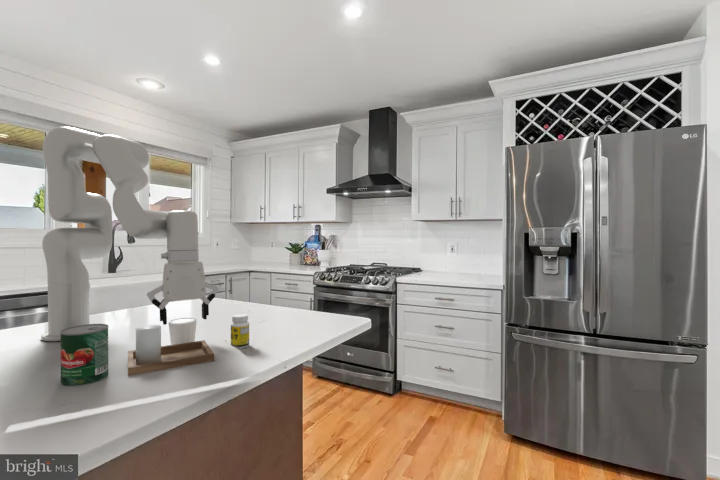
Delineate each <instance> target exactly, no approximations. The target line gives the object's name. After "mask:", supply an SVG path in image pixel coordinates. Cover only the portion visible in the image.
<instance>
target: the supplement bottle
mask: <svg viewBox="0 0 720 480" xmlns="http://www.w3.org/2000/svg"><path fill="white" fill-rule="evenodd" d="M231 318H232V319H231V321H232V322H231V323H230V345H231V347H232V346H233V347H236V348H237V349H238V350H242V349H246V348H248V347H249V346H250V322H249V315H248V314H247V313H237V314H233V315H232V317H231Z"/></svg>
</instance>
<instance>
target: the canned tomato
mask: <svg viewBox="0 0 720 480" xmlns="http://www.w3.org/2000/svg"><path fill="white" fill-rule="evenodd" d="M60 333H61V340H60V341H59V342H60V384H61V385H62V386H66V387H77V386H84V385H90V384H92V383H96V382H99V381H102V380H104V379H105V378H107V377H108V376H109V325H108V324H105V323H89V324H86V325H79V326H73V327H69V328H66V329H63V330H61V331H60Z"/></svg>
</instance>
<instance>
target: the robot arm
mask: <svg viewBox="0 0 720 480" xmlns="http://www.w3.org/2000/svg"><path fill="white" fill-rule="evenodd" d="M45 135H46V136H44V139H43V143H42V154H43V155H42V156H43V160H44V164H45V167H46V172H47V173H46V174H47V200H48V202H47V203H48V212H49V216H50V218H52V219H53V220H54V221H56V222H59V223H64V224H84V227H59V228H54V229H52V230H49V231H47V233H46V234H45V235H44V236H43V237H42V243H41V245H42V251H43V255H44V258H45V263H46V272H47V273H46V275H47V325H48V326H47V327H48V329H47V330H48V331H47V332H44V333H42V334H41V335H40V339H41V340H42V341H44V342H61V341H60V340H61V333H60V331H61V330H63V329H66V328H69V327H73V326H79V325H86V324H90V276H89V271H88V269H87V266H86V265H85V264H84V262H83V261H82V260H90V259H91V260H92V259H102V258H105V257H106V256H107V255H108V254H109V253H110V252H111V250H112V246H113V213H112V212H114V215H115V217H116V218H117V221H118V222H119V224H120V225H121V227H122V228H123V229H124V231H125V232H126V233H127V234H128V235H129V236H131V237H133V238H134V239H139V240H141V239H142V240H150V239H151V240H152V239H153V240H154V239H156V240H162V239H163V240H164V239H166V249H167V251H166V252H163V253H161V254H160V259H161V260H163V259H164V260H167V262H164V267H163V274H162V284H160V285H159V286H157V287H156V288H154V289H152V290H149V291H148V292H146V295H147V296H146V297H148V299H149V301H150V302H151V304H152V305H154V306H155V307H156V308H158V309H159V322H162V324H163V325H167V324H168V317H167V315H168V314H167V308H166V306H167V305H168V304H169V303H170V302H171V303H172V302H181V301H182V302H183V301H191V300H192V301H193V300H199V299H200V300H201V301H202V303H201V319H203V320H207V318H208V316H209V315H210V311H209V310H210V309H209V305H210V303H211V302H212V301H213V300H214V299H215V297H216V295H217V293H218V291H219V286H216V285H214V284H212V283H209V282H208V281H206V279H205V278H206V277H205V269H204V264H203V261H201V260H200V261H199V225H198V215H197V213H196V212H195V211H194V210H193V211H192V210H178V209H176V210H171V211H165V210H163V211H162V210H161V211H160V210H150V209H144V208H143V207H142V205H141V204H140V203H139V201H138V199H137V198H136V195H135V193H138V192H140V191H141V190H143V189H144V188H145V187H146V186H147V185H148V182H149V176H148V175H147V173H146V171H145V170H144V168H146V167H147V166H148V164H149V160H150V156H149V152H148V150H147V148H146V147H145V146H144V145H143V144H142V143H140V142H138V141H136V140H133V139H129V138H126V137H123V136H119V135H114V134H103V135H102V134H101V135H100V134H99V133H98V134H97V133H95V132H90V131H87V130H84V129H81V128H76V127H71V126H57V127H54V128H52V129H50V131H48V133H47V134H45ZM77 160H80V161H85V162H90V163H95V164H99V165H101V167H102V169H103V170H104V172H105V173H106V176H107V177H108V178H109V180H110V182H111V183H112V184H113V187H114V188H115V189H114V191H113V195H112V206H111V204H110V202H109V200H108V198H107V197H105V196H103V195H102V194H98V193H92V192H87V190H86V179H85V174H84V172H83V170H82V168H81V166H80V165H79V164H78V163H77V162H76V161H77ZM206 288H207V289H210V290H211V291H210V294H208V295H207V297H206V292H207V289H206ZM161 292H162V297H163V299H161V301H159V300H158V299H156V297H155V296H156V295H157V294H159V293H161Z"/></svg>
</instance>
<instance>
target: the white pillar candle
mask: <svg viewBox="0 0 720 480" xmlns="http://www.w3.org/2000/svg"><path fill="white" fill-rule="evenodd" d="M161 346H162V326H161V325H159V324H148V325H142V326H138V327H136V328H135V350H136V365H142V364H148V363H154V362H161Z"/></svg>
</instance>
